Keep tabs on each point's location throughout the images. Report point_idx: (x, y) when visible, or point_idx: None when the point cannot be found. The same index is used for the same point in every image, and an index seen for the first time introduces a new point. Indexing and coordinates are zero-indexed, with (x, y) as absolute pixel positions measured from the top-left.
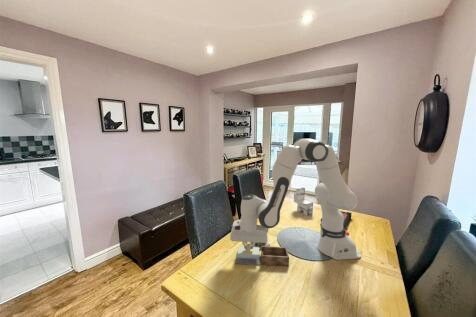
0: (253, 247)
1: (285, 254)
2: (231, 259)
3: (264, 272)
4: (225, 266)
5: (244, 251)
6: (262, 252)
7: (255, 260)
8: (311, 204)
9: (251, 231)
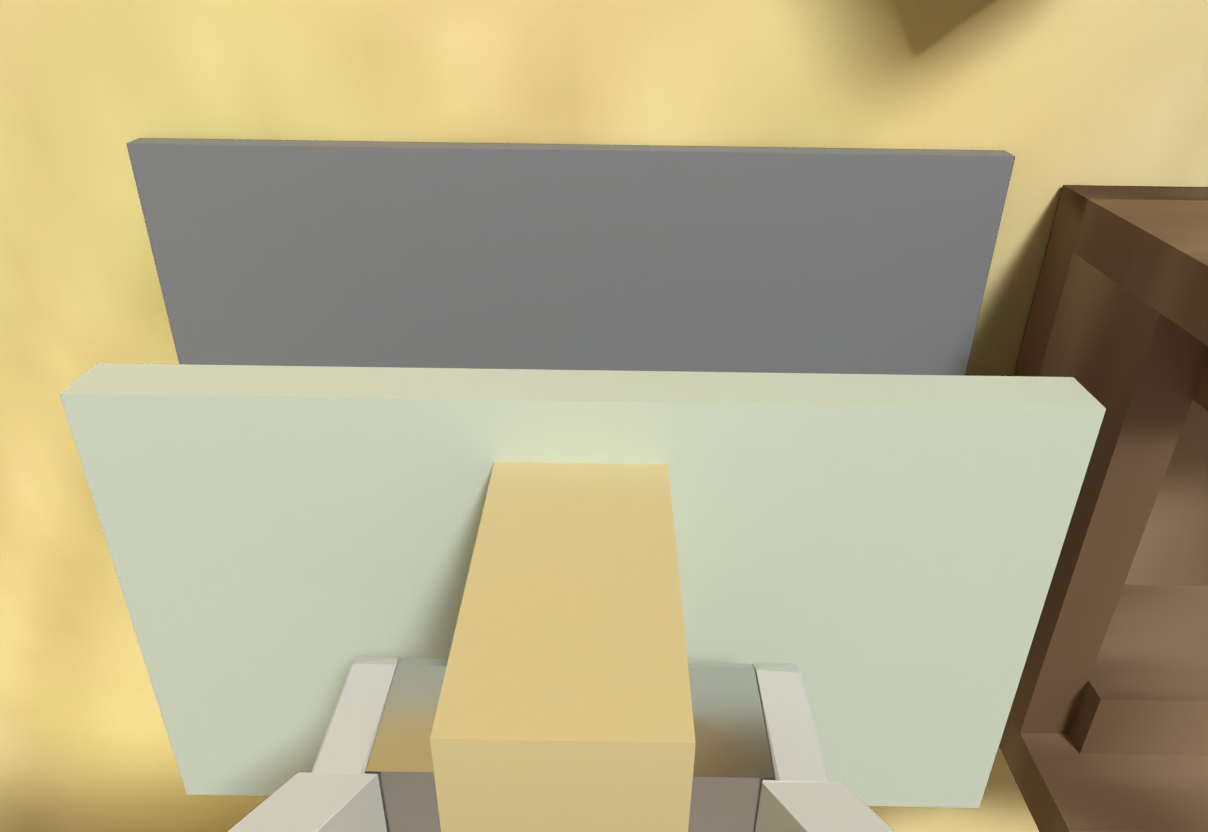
0: (812, 439)
1: None
2: (91, 500)
3: (947, 818)
4: (50, 719)
5: None
6: (1138, 479)
7: None
8: None
9: None
